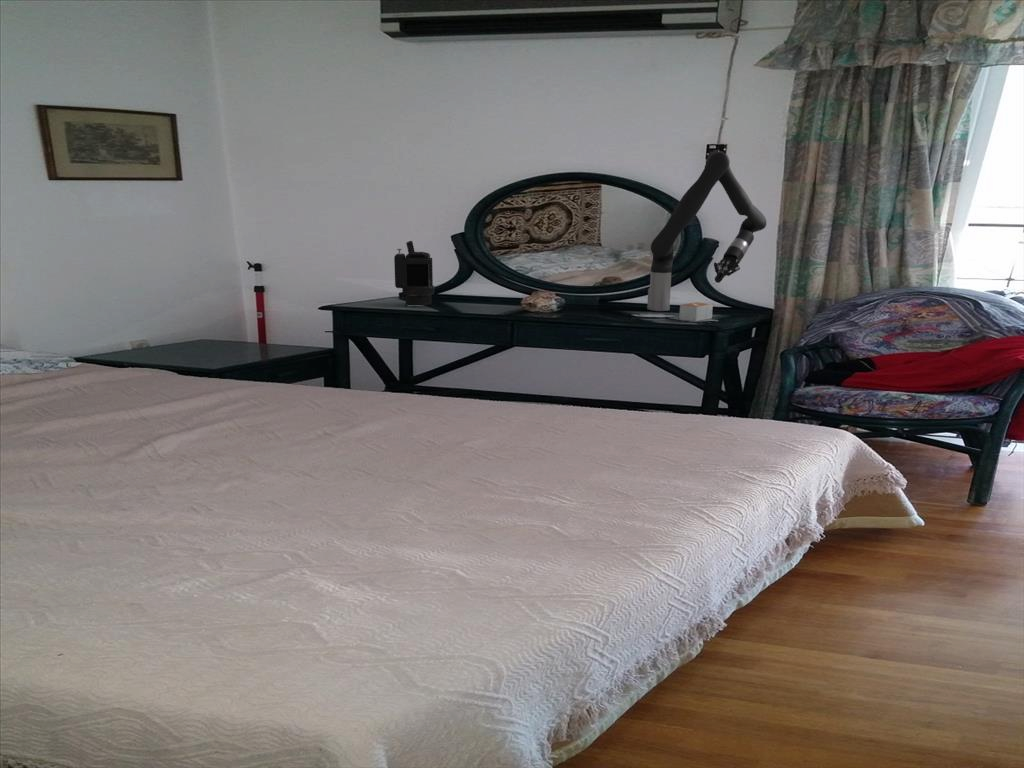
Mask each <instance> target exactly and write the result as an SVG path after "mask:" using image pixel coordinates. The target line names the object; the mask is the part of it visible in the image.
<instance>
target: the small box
mask: <svg viewBox="0 0 1024 768" xmlns="http://www.w3.org/2000/svg"><path fill="white" fill-rule="evenodd" d="M678 316H679V319H680V320H686V321H701V320H706V319H712V318H713V303H706V302H705V303H704V302H698V301H697V302H690V303H684V304H679V315H678Z"/></svg>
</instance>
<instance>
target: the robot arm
mask: <svg viewBox="0 0 1024 768" xmlns="http://www.w3.org/2000/svg"><path fill="white" fill-rule="evenodd" d="M730 163H731V162H730V157H729V156H728V155H727V154H726V153H725V152H723V151H721V150H716V151H712V152H711V153H709V155H707V157H706V160H705V164H706V165H705V167H704V169H703V170H702V172H701V174H700V175H699V177H698V178H697V180H696V181H695V182H694V183H693V184H692V185H691V186H690V187H689V188H688V189H687V191H686V192H685V193H684V194H683V195H682V197H681V198H680V200H679V201H678V203H677V205H676V206H675V208H674V210H673V211H672V213H671V215H670V217H669V218H668V220H667V222H666V224H665V225H664V227H663V228H662V229H661V230H660V232H659V233H658V234H657V235H656V237H655V238H654V239H653V240H652V242H651V244H650V251H651V253H652V261H651V262H652V264H651V266H650V279H649V281H650V283H649V288H648V289H647V306H646V308H647V310H649V311H655V312H664V311H665V312H666V311H667V312H668V311H670V307H671V306H670V304H671V290H672V288H671V287H672V268H673V265H674V263H673V262H674V253H675V251H674V249H675V247H674V246H675V245H674V244H675V242H676V241H677V238H678V237H679V235H680V234H681V232H683V230H684V229H685V228H686V227H687V226H688V225H689V224H690V223H691V222H692V220H693V219H694V218H695V217H696V215H697V214H698V213H699V211H700V209H701V208H702V206H703V204H704V203H705V202H706V200H707V198H708V196H709V194H710V193H711V191H712V189H713V187H714V186H715V185H716V184H717V182H718V181H719V183H720V184H721V186H722V187H723V189H724V191H725V194H726V195H727V196H728V199H729V200H730V203H731V204H732V206H733V207H734V209H735V210H736V212H737V213H738V215H739V216H745V217H746V218H744V220H743V221H742V222H741V225H740V228H739V231H738V233H737V235H736V236H735V238H734V240H733V241H732V242H731V243H730V244H729V246H728V247H727V249H726V250H725V252H724V254H723V256H722V259H720V260H719V262H713V268H714V272H715V274H716V275H715V276H714V281H715V283H716V284H717V283H718V284H719V283H721V282H722V281H723V279H724V278H725V277H726V276H728V277H730V276H732V275H733V274H735V273H737V272H738V271H739V270H740V269H741V267H740V265H739V264H740V263H741V261H742V260H743V258H744V257H745V255H746V253H747V252H748V251H749V250H748V249H749V248H750V247H751V245H752V243H753V241H754V239H755V236H754V233H756V232H760V231H762V230H764V229H765V228H766V227H767V219H766V216H765V215H764V213H762V212H761V210H759V208H757V207H756V205H754V204H753V202H752V201H751V198H750V197H749V195H748V194H747V192H746V191H745V189H744V188H743V187H742V185H741V184H740V182H739V181H738V180H737V178H736V177H735V175H734V173H733V171H732V169H731V166H730Z"/></svg>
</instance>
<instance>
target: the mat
mask: <svg viewBox="0 0 1024 768" xmlns="http://www.w3.org/2000/svg"><path fill="white" fill-rule="evenodd" d="M675 317H676V318H677V319H678V320H680V319H679V315H677V316H675ZM678 320H677V321H678ZM685 321H686V320H682V321H681V322H685ZM701 321H715V322H719V319H712V318H711V319H706V320H701ZM691 322H697V321H689V322H688V323H691Z"/></svg>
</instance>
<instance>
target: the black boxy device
mask: <svg viewBox="0 0 1024 768" xmlns="http://www.w3.org/2000/svg"><path fill="white" fill-rule="evenodd" d="M413 243H414V242H413V240H409V241H407V242H406V248H407V252H408V253H407V254H406V255H405V253H401V251H402V249H403V248H397V249H396V251H398V253H397V254H395V255H394V258H393V259H394V261H393V263H394V265H393V266H394V286H395V288H396V289H401V290H402V295H404V296H405V305H406V304H407V305H427V304H431V303H432V301H433V299H432V298H433V297H432V295H435V285H434V284H433V283H434V281H433V280H434V279H433V278H434V277H433V257H431V254H430V253H428V252H425V251H415V248H414V244H413Z"/></svg>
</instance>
